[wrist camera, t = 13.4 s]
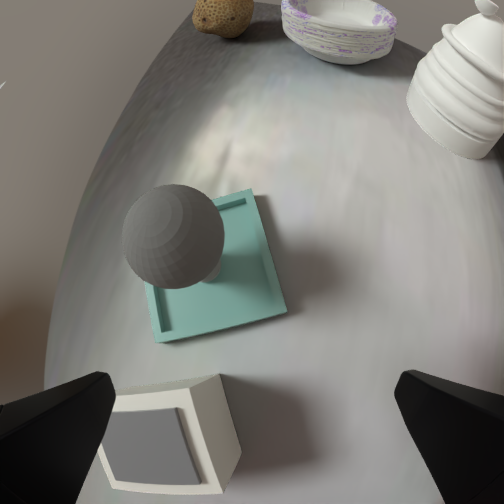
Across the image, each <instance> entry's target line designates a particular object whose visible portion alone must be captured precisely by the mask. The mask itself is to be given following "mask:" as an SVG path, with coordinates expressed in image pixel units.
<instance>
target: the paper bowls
mask: <svg viewBox="0 0 504 504" xmlns="http://www.w3.org/2000/svg"><path fill="white" fill-rule="evenodd" d="M281 7H282V8H281V10H282V22H283V30H284V32H285V34H286V35H287V36H288V37H289V38H290V39H291V40H292V41H294V42H295V43H297V44H299V45H301V46H302V47H303V48H304V49H305V50H306V51H307V52H308V53H310V54H311V55H313V56H315V57H317V58H319V59H322V60H325V61H328V62H332V63H337V64H347V65H352V64H361V63H364V62H367V61H369V60H370V59H377V58H380V57H382V56H385V55H387V54H388V53H389V52H390V51H391V49H392V46H393V43H394V38H395V35H396V30H397V25H398V22H397V20H396V18H395V16H394V15H393V14H392V13H391V12H390V11H388V10H387V9H386V8H384V7H383V6H381V5H379V4H377V3H375V2H373V1H371V0H282V4H281Z"/></svg>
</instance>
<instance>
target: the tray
mask: <svg viewBox="0 0 504 504" xmlns="http://www.w3.org/2000/svg"><path fill="white" fill-rule="evenodd" d="M212 201H213V203H214V204H215V206H216V207H217V209H218V211H219V213H220V215H221V218H222V220H223V224H224V231H225V240H224V248H223V252H222V255H221V258H220V260H221V269H220V272H219V274H218V275H217V277H216V278H214V279H213V280H212V281H209V282H203V283H202V282H198V283H197V284H194V285H192V286H189V287H186V288H180V289H164V288H160V287H156V286H153V285H151V284H149V283H147V282H145V287H146V293H147V300H148V306H149V312H150V318H151V323H152V328H153V334H154V339H155V343H165V342H170V341H175V340H180V339H185V338H189V337H194V336H198V335H203V334H207V333H212V332H216V331H220V330H224V329H228V328H232V327H236V326H240V325H244V324H248V323H252V322H256V321H260V320H263V319H267V318H271V317H274V316H278V315H282V314H285V313H287V309H286V305H285V302H284V298H283V295H282V291H281V287H280V284H279V280H278V277H277V274H276V270H275V267H274V263H273V260H272V256H271V253H270V249H269V246H268V243H267V239H266V236H265V232H264V229H263V226H262V222H261V219H260V216H259V212H258V209H257V205H256V202H255V199H254V196H253V192H252V189H247V190H244V191H240V192H237V193H233V194H230V195H227V196H223V197H220V198H217V199H213V200H212Z"/></svg>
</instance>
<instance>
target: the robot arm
mask: <svg viewBox="0 0 504 504" xmlns="http://www.w3.org/2000/svg"><path fill="white" fill-rule="evenodd" d="M394 396H395V399H396V402H397V404H398V406H399V409H400V411H401V414H402V416H403V419H404V422H405V424H406V426H407V429H408V431H409V433H410V435H411V436H412V438H413V440H414V442H415V444H416V446H417V448H418V450H419V452H420V453H421V455H422V457H423V459H424V461H425V463H426V465H427V467H428V469H429V471H430V473H431V475H432V477H433V479H434V481H435V483H436V485H437V487H438V489H439V491H440V493H441V495H442V498H443V500H444V502H445V504H504V396H503V395H499V394H495V393H491V392H487V391H484V390H480V389H476V388H473V387H469V386H466V385H462V384H459V383H455V382H452V381H449V380H445V379H442V378H439V377H436V376H432V375H429V374H426V373H423V372H420V371H417V370H408V371H404V372H403V373H402V374H401V376H400V378H399V381H398V383H397V385H396V388H395V391H394ZM115 400H116V392H115V389H114V386H113V384H112V381H111V378H110V376H109V374H108V373H104V372H99V371H96V372H93V373H91V374H88V375H86V376H83V377H80V378H78V379H75V380H73V381H70V382H67V383H64V384H62V385H59V386H56V387H54V388H51V389H48V390H45V391H42V392H39V393H37V394H34V395H31V396H28V397H25V398H22V399H19V400H16V401H13V402H10V403H7V404H4V405H0V504H76V501H77V498H78V496H79V493H80V491H81V488H82V486H83V483H84V481H85V479H86V476H87V474H88V471H89V469H90V467H91V464H92V462H93V460H94V457H95V455H96V453H97V451H98V448H99V446H100V444H101V442H102V439H103V437H104V435H105V432H106V429H107V426H108V422H109V419H110V416H111V413H112V410H113V406H114V403H115Z"/></svg>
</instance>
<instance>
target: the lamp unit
mask: <svg viewBox="0 0 504 504" xmlns="http://www.w3.org/2000/svg"><path fill="white" fill-rule="evenodd" d="M115 392H116V400H115V403H114V406H113V410H112V413H111V416H110V419H109V422H108V426H107V429H106V432H105V435H104V437H103V439H102V442H101V444H100V446H99V448H98V454H99V457H100V459H101V462H102V465H103V467H104V470H105V472H106V474H107V477H108V479H109V482H110V484H111V486H112V488H113V489H119V490H126V491H134V492H144V493H156V494H176V495H204V494H223V493H224V491H225V489H226V487H227V485H228V483H229V480H230V478H231V476H232V474H233V472H234V470H235V467H236V465H237V463H238V461H239V459H240V456H241V454H242V450H241V447H240V444H239V440H238V437H237V434H236V431H235V427H234V424H233V421H232V417H231V414H230V410H229V407H228V403H227V400H226V396H225V392H224V389H223V385H222V381H221V378H220V374H215V375H209V376H204V377H198V378H193V379H187V380H180V381H174V382H167V383H159V384H151V385H143V386H134V387H129V388H124V389H120V390H115Z"/></svg>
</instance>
